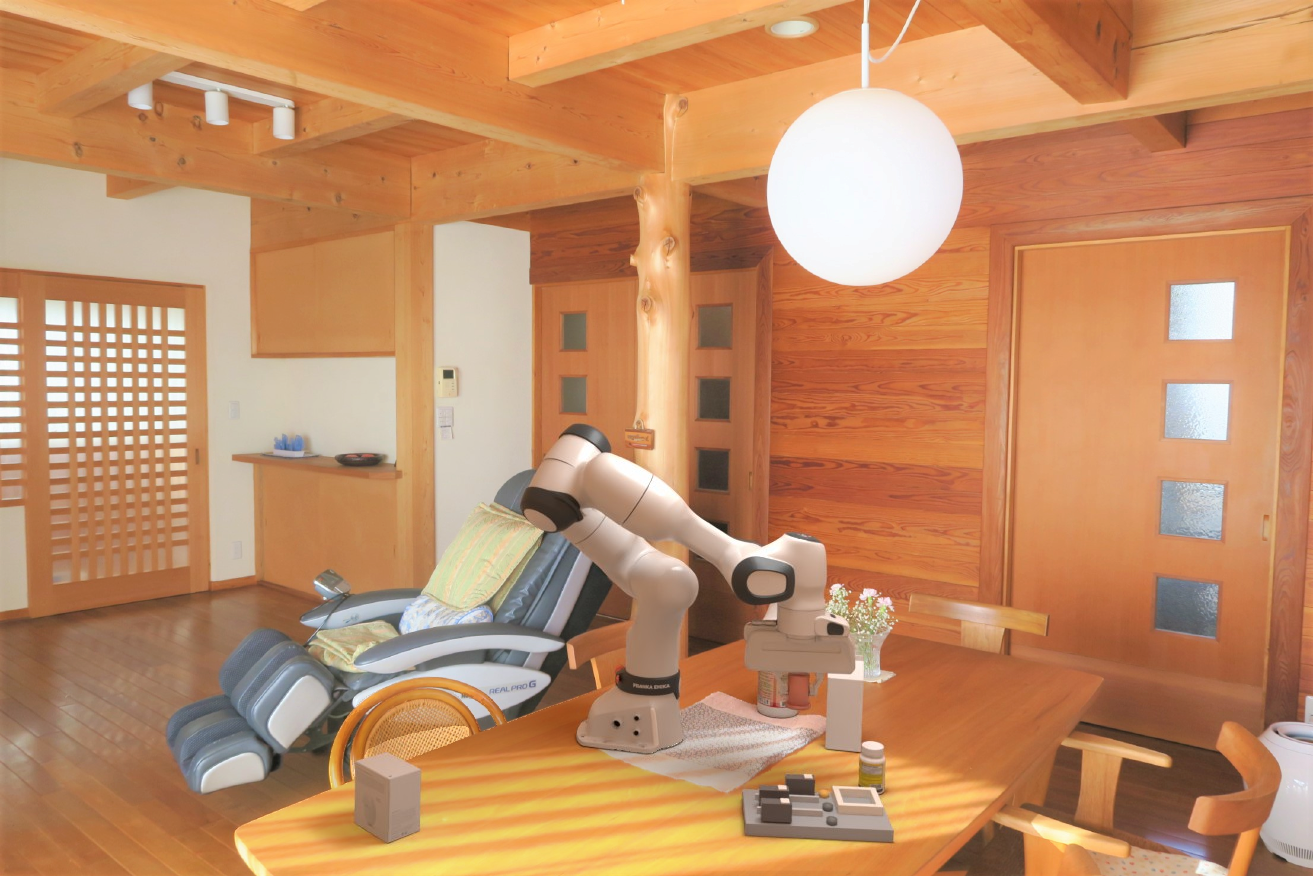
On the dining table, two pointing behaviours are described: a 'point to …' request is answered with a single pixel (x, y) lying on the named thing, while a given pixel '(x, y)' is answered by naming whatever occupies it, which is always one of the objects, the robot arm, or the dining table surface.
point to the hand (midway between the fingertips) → (798, 694)
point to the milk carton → (845, 709)
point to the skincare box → (387, 796)
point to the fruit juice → (772, 685)
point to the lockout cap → (798, 691)
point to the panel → (824, 816)
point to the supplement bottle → (872, 766)
